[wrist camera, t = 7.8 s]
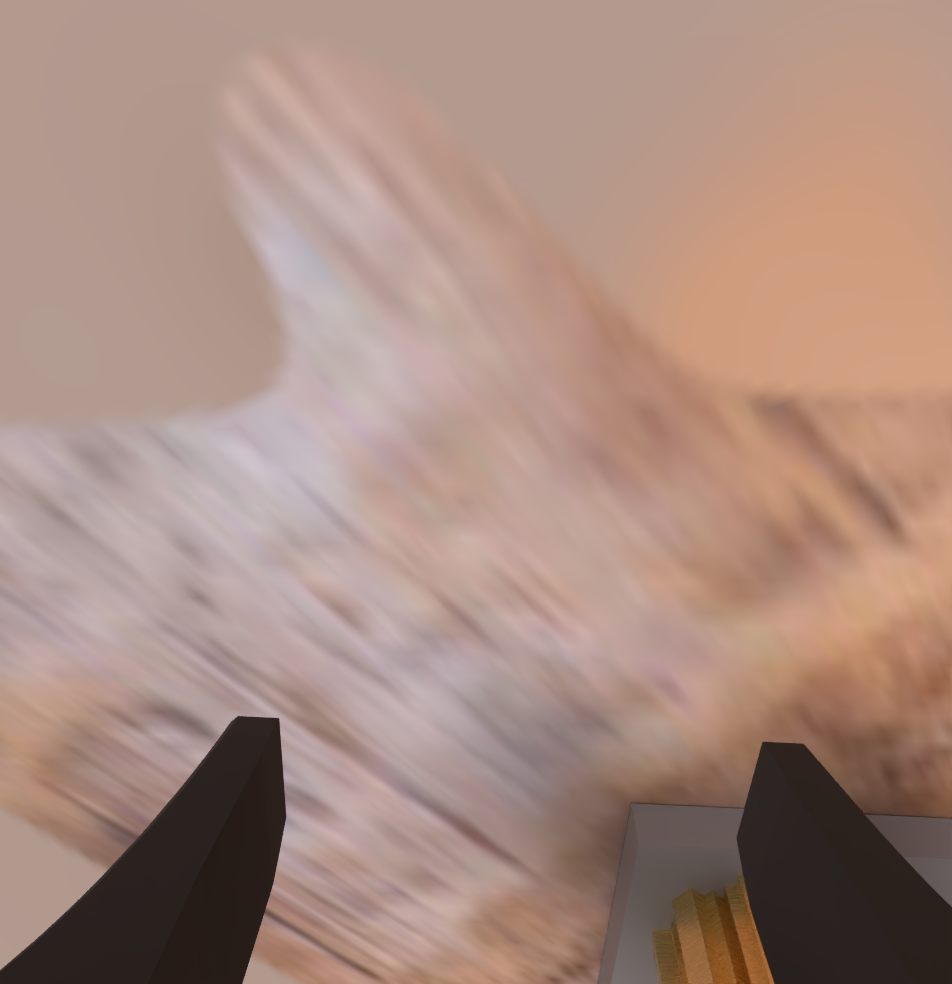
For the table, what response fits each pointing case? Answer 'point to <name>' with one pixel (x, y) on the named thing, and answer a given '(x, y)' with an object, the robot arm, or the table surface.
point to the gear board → (718, 872)
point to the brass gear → (711, 941)
